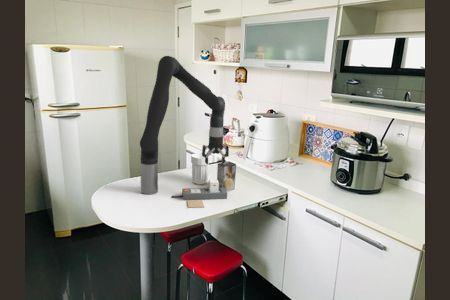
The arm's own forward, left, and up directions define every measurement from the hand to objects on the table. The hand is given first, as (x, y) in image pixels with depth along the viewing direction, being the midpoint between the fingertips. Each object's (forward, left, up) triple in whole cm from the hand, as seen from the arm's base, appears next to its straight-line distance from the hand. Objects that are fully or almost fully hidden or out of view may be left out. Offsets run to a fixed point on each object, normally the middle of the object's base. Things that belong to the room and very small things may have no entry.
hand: (214, 163), depth 176 cm
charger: (0, 0, -17) cm, 17 cm away
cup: (-5, +21, -19) cm, 29 cm away
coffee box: (+9, +9, -19) cm, 23 cm away
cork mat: (-11, -10, -19) cm, 24 cm away
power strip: (-8, 0, -19) cm, 21 cm away
